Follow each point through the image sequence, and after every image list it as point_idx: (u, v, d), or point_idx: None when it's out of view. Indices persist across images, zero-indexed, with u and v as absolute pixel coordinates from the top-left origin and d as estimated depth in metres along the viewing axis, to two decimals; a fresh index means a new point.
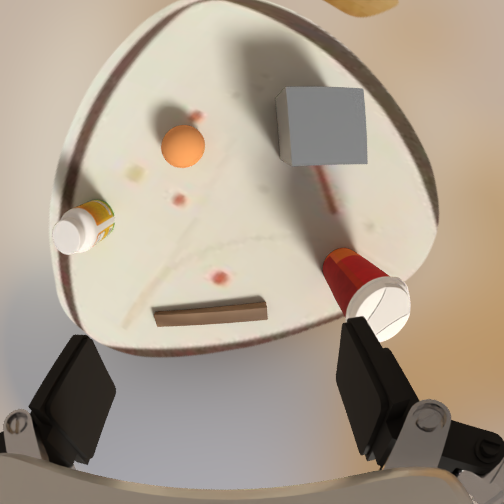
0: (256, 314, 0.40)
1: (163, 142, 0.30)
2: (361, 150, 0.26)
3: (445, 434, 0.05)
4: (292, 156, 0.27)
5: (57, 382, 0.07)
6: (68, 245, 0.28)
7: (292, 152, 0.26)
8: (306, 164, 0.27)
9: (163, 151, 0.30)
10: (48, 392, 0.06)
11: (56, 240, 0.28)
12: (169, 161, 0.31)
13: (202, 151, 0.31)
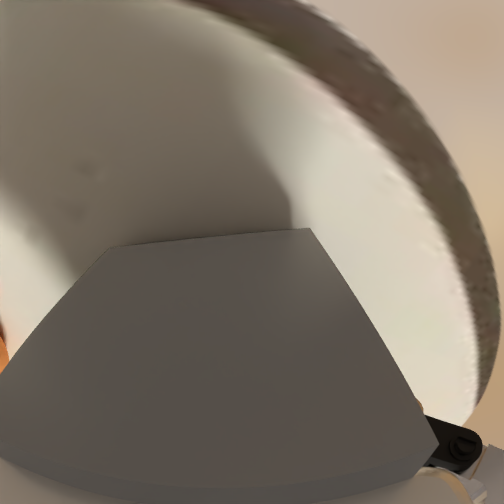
0: None
1: None
2: None
3: None
4: None
5: None
6: None
7: None
8: None
9: None
10: None
11: None
12: None
13: None
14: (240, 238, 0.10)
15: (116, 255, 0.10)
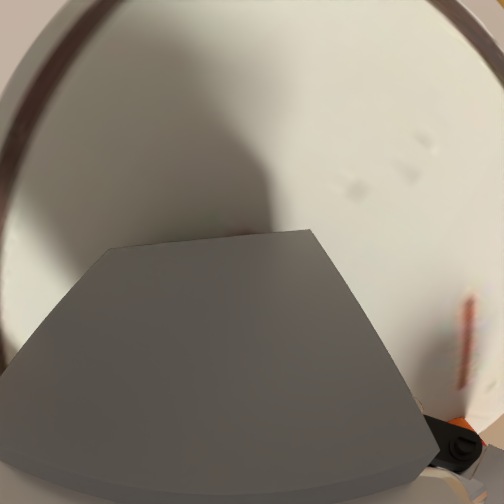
0: None
1: None
2: None
3: None
4: None
5: None
6: None
7: None
8: None
9: None
10: None
11: None
12: None
13: None
14: (240, 240, 0.10)
15: (115, 257, 0.10)
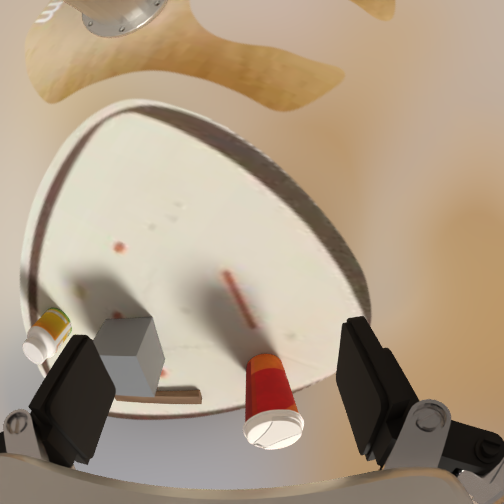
0: (191, 400, 0.44)
1: None
2: (147, 390, 0.34)
3: (446, 435, 0.05)
4: None
5: (57, 382, 0.07)
6: (35, 358, 0.31)
7: None
8: None
9: None
10: (48, 392, 0.06)
11: (26, 353, 0.31)
12: None
13: None
14: (136, 318, 0.40)
15: (108, 320, 0.39)
